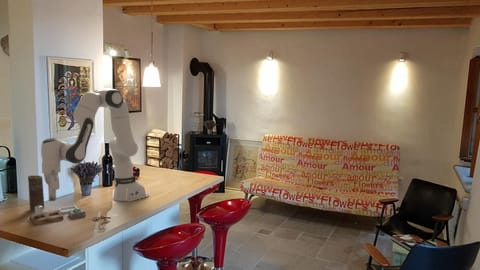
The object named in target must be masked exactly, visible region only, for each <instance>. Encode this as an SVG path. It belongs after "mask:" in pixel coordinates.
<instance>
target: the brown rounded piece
mask: <svg viewBox="0 0 480 270" xmlns="http://www.w3.org/2000/svg"><path fill="white" fill-rule="evenodd" d="M27 178H28V179H27V183H28V197H29V198H28V199H29V210H30V211H31V212H35V206H39V205H41V206H43V209H44V208H45V197H44V196H45V195H44V182H43V180H44V179H43V176H41V175H29V176H27Z"/></svg>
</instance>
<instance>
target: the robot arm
mask: <svg viewBox="0 0 480 270" xmlns="http://www.w3.org/2000/svg"><path fill="white" fill-rule="evenodd" d="M101 107H102V108H108V109H109V113H110V124H111V130H112V132H113V134H114V136H115V137H113V138H112V139H111V140H110V141H109V144H108V147H109V149H110V151H111V154H112V159H113V163H114V164H113V165H114V177H113V184H114V191H113V196H112V199H113V201H118V202H134V201H137V199H138V200H141V198H142V199H145V197H146V198H149V197H150V195H149V193H148V192H147V191H146V188H145V186H144V185H143V184H141V183H139V182H138V181H139V177H138V176H136V175H134V170H133V169H134V167H133V165H134V164H133V162H132V159H131V157H134V156H136V154H137V153H138V151H139V146H138V144H137V143H136V141H135V138H134V136H133V132H132V129H131V122H130V121H131V120H130V112H129V108H128V104H127V101H126V100H125V99H124V98H123V94H122V92H121V91H120V90H117V89H116V88H115V89H114V88H101V89H94V91H86V92H85V93H84V94H83V95H82V97H81V98H80V99H79V101H78V103H77V105H76V107H75V108H74V110H73V111H74V112H73V116H72V117H73V119H74V121H75V122H76V123H77V124H78V125H79V131H78V135H77V136H76V139H75V142H74V143H69V142H65V141H61V140H60V139H58V138H55V137H52V138H46V139H44V140H43V141H42V142H41V147H40V149H41V150H40V156H41V173H42V174H43V178H44V182H45V183H46V184H47V187H48V186H49V187H50V188H51V191H52V192H51V195H52V196H55V195H56V196H57V190H60V177H59V173H61V172H62V171H61V170H62V169H61V167H62V166H61V161H66V162H70V163H72V164H74V165H76V164H80V163H82V162H83V161H84V160H85V159H86V157H87V149H88V144H89V141H90V139H91V135H92V134H93V133H92V132H93V130H94V125H95V124H94V120H95V118H96V115H97V112H98V109H99V108H101Z"/></svg>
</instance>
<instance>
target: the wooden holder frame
mask: <svg viewBox="0 0 480 270" xmlns="http://www.w3.org/2000/svg"><path fill="white" fill-rule="evenodd" d="M29 219H30V221H31V222H32V225H33V226H38V225H42V224H49V223H53V222H54V223H55V222H60V221H64V214H61V212H60V211H59V209H57V210H50V211H43V218H38V219H35V213H32V214H30V215H29Z"/></svg>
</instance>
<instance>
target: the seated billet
mask: <svg viewBox="0 0 480 270" xmlns="http://www.w3.org/2000/svg"><path fill="white" fill-rule="evenodd" d="M43 209H44V208H43V206H41V205H39V206H35V211H34V214H35V219H38V218H43V212H44V211H43Z"/></svg>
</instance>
